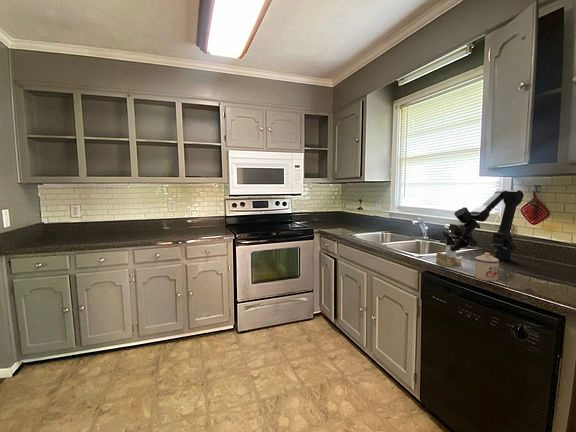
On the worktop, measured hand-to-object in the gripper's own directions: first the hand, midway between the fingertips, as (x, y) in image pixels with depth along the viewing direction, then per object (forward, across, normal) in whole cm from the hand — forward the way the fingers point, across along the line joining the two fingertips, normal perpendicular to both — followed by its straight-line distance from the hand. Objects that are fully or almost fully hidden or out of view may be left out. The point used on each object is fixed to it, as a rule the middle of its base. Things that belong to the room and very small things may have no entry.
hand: (448, 250), depth 149 cm
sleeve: (+5, 0, +6) cm, 8 cm away
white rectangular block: (+4, 0, +6) cm, 8 cm away
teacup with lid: (+6, +24, +5) cm, 25 cm away
